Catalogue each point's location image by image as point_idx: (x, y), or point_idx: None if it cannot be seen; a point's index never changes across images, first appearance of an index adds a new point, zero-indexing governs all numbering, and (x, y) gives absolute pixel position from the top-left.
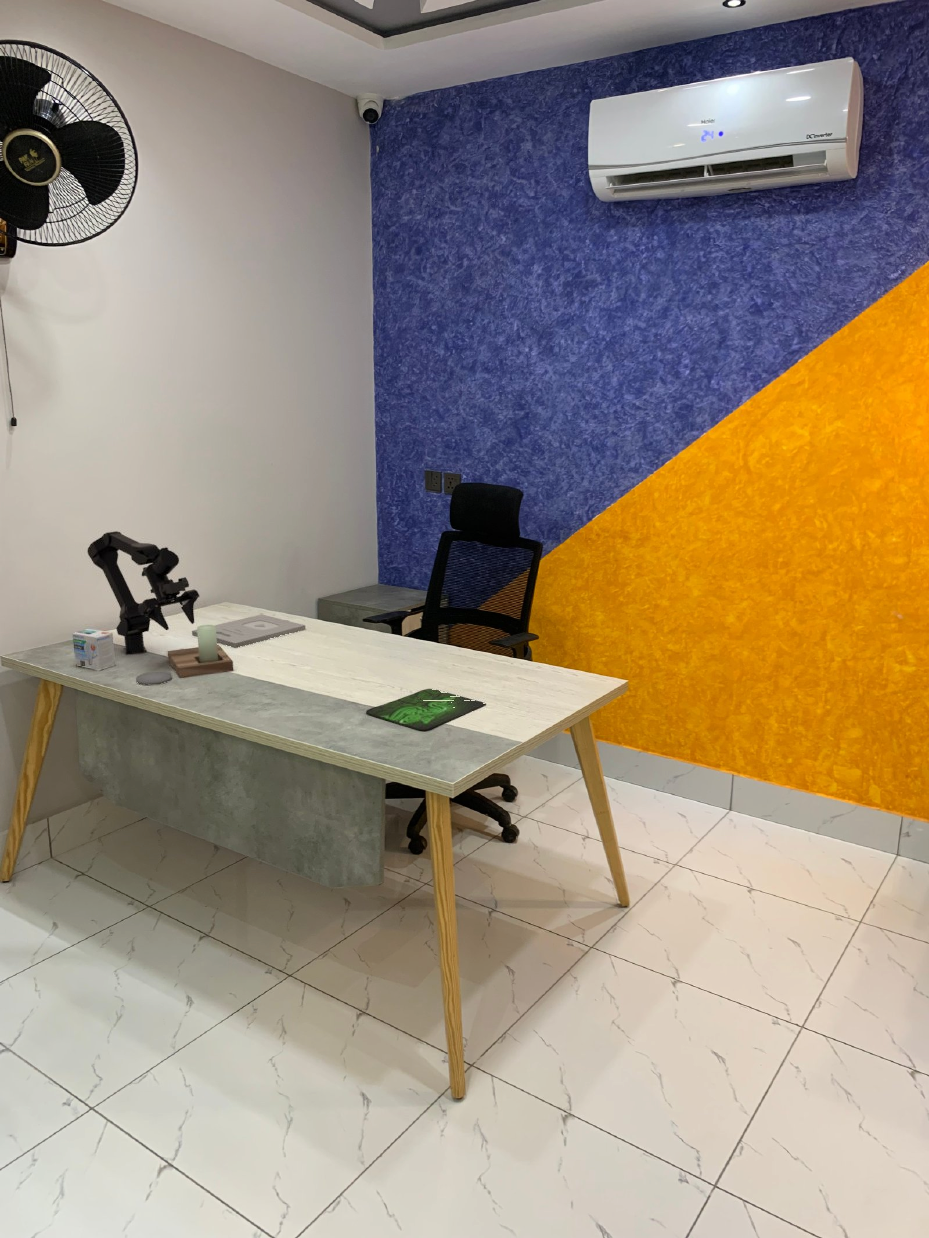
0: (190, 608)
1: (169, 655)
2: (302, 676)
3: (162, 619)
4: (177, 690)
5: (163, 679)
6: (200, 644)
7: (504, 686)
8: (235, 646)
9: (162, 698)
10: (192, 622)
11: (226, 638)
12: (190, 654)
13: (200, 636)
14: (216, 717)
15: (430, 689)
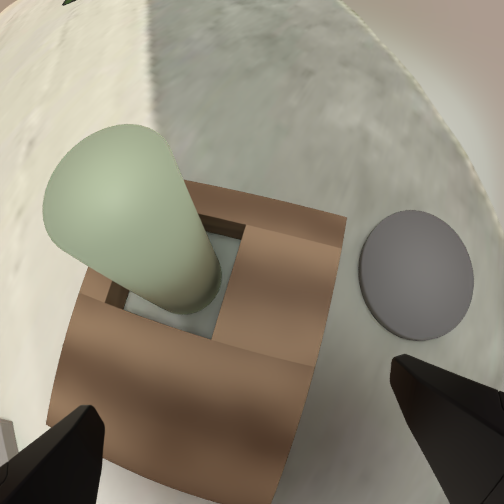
0: (1, 494)
1: (283, 465)
2: (85, 72)
3: (489, 390)
4: (379, 133)
5: (403, 216)
6: (198, 219)
7: (33, 5)
8: (7, 421)
9: (422, 113)
10: (95, 417)
11: None
12: (204, 391)
13: (185, 187)
14: (343, 6)
15: (65, 3)
